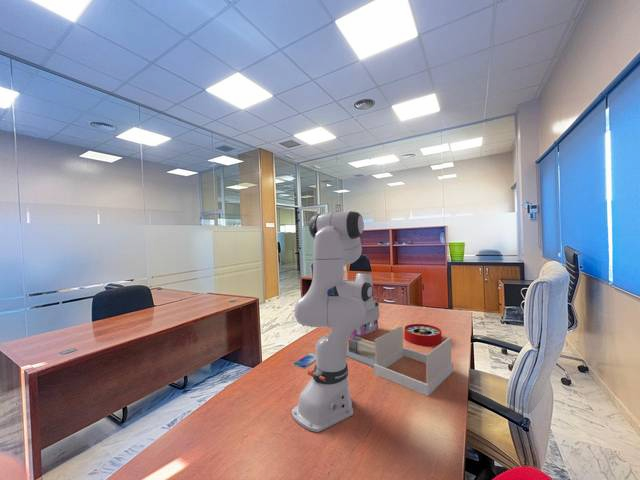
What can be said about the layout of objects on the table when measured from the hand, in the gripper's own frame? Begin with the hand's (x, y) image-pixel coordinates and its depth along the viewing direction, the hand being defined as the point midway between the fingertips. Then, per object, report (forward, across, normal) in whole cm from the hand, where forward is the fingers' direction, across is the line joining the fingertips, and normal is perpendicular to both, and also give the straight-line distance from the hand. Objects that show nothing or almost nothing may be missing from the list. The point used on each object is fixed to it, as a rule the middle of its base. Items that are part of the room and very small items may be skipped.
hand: (365, 331), depth 134 cm
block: (+11, +1, 0) cm, 11 cm away
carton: (+12, +1, -25) cm, 28 cm away
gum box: (+12, +25, +21) cm, 35 cm away
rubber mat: (+12, +1, 0) cm, 12 cm away
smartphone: (+13, -23, +18) cm, 32 cm away
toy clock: (+12, +39, -11) cm, 42 cm away
